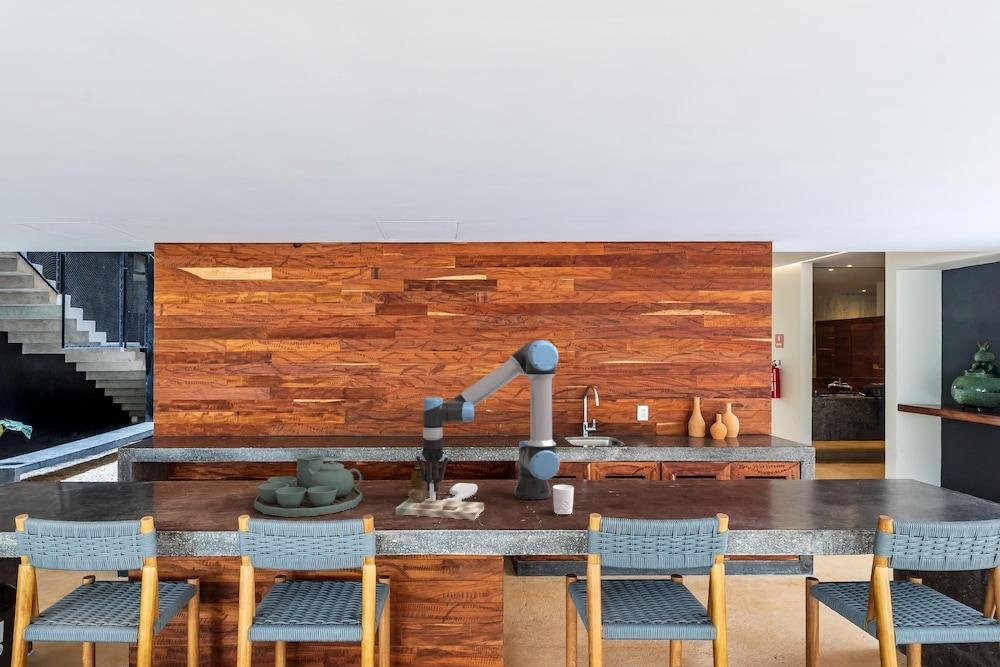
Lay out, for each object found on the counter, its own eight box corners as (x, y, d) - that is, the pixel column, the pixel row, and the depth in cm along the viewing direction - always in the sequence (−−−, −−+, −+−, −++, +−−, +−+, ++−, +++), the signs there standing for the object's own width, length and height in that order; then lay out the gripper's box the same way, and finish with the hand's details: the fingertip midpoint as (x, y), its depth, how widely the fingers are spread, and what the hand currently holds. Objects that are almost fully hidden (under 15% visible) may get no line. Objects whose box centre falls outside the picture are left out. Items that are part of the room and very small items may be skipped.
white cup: (568, 518, 224) (568, 490, 224) (548, 514, 228) (549, 487, 228) (577, 513, 231) (577, 486, 231) (558, 509, 235) (558, 483, 235)
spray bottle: (479, 490, 266) (465, 506, 242) (454, 489, 268) (439, 504, 244) (479, 483, 266) (466, 498, 242) (455, 482, 268) (439, 496, 244)
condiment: (421, 494, 257) (421, 465, 258) (432, 498, 251) (432, 468, 251) (406, 496, 253) (406, 467, 253) (417, 500, 246) (417, 470, 246)
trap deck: (484, 509, 234) (484, 502, 234) (475, 520, 219) (475, 513, 219) (409, 504, 240) (409, 498, 240) (395, 514, 225) (395, 508, 225)
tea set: (235, 505, 237) (236, 462, 238) (326, 488, 267) (327, 450, 267) (288, 526, 211) (289, 478, 211) (382, 504, 241) (383, 462, 241)
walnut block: (425, 500, 237) (425, 489, 237) (421, 503, 232) (421, 492, 232) (412, 499, 238) (413, 489, 238) (408, 502, 233) (408, 492, 233)
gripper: (452, 437, 237) (451, 498, 237) (419, 436, 240) (419, 496, 239) (446, 440, 230) (446, 503, 229) (413, 439, 232) (413, 501, 232)
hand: (432, 500), depth 234 cm, fingers closed
